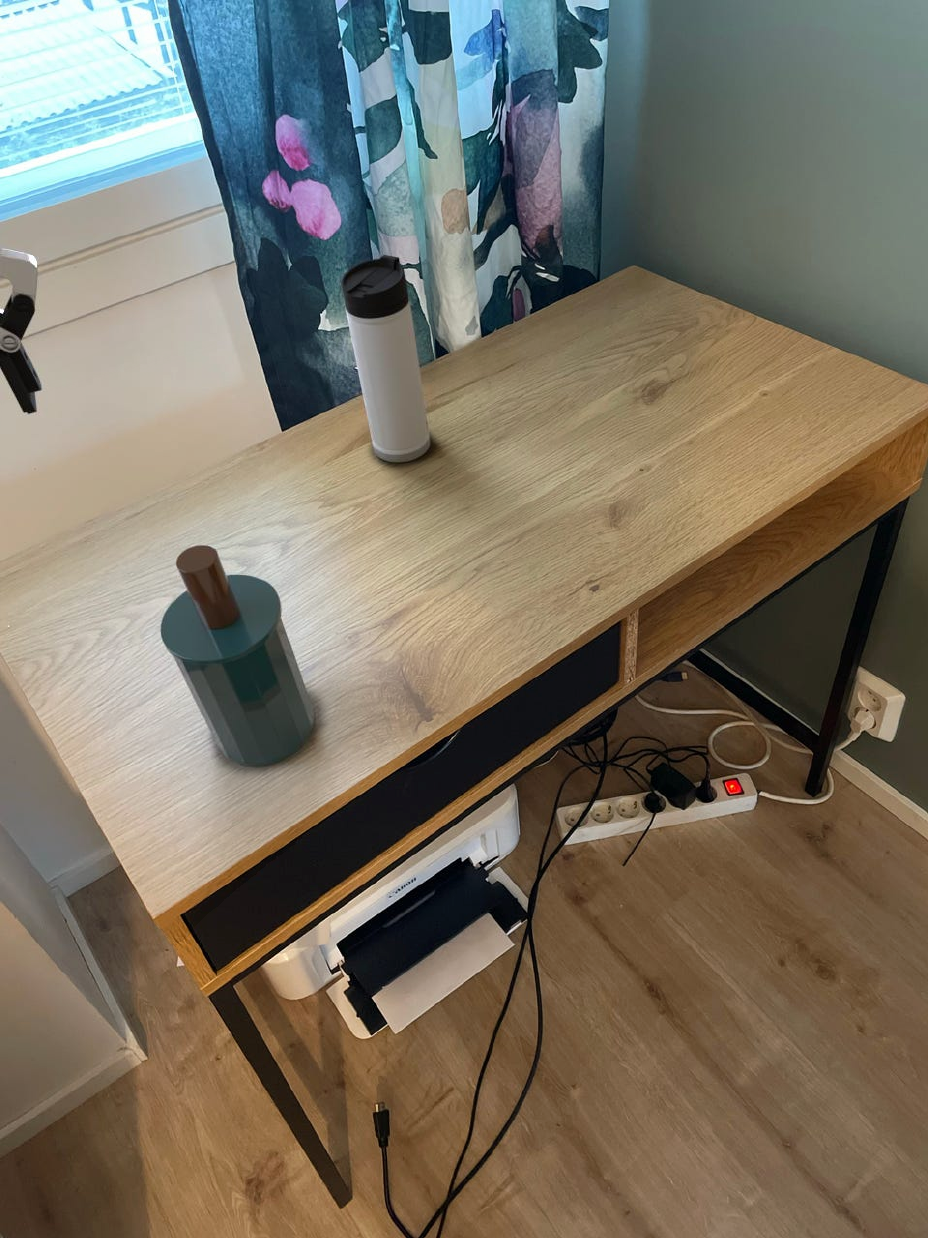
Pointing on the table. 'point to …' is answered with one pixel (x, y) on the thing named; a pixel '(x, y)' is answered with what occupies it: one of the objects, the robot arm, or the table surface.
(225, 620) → the lid
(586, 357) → the table surface
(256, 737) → the pot
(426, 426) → the travel mug
